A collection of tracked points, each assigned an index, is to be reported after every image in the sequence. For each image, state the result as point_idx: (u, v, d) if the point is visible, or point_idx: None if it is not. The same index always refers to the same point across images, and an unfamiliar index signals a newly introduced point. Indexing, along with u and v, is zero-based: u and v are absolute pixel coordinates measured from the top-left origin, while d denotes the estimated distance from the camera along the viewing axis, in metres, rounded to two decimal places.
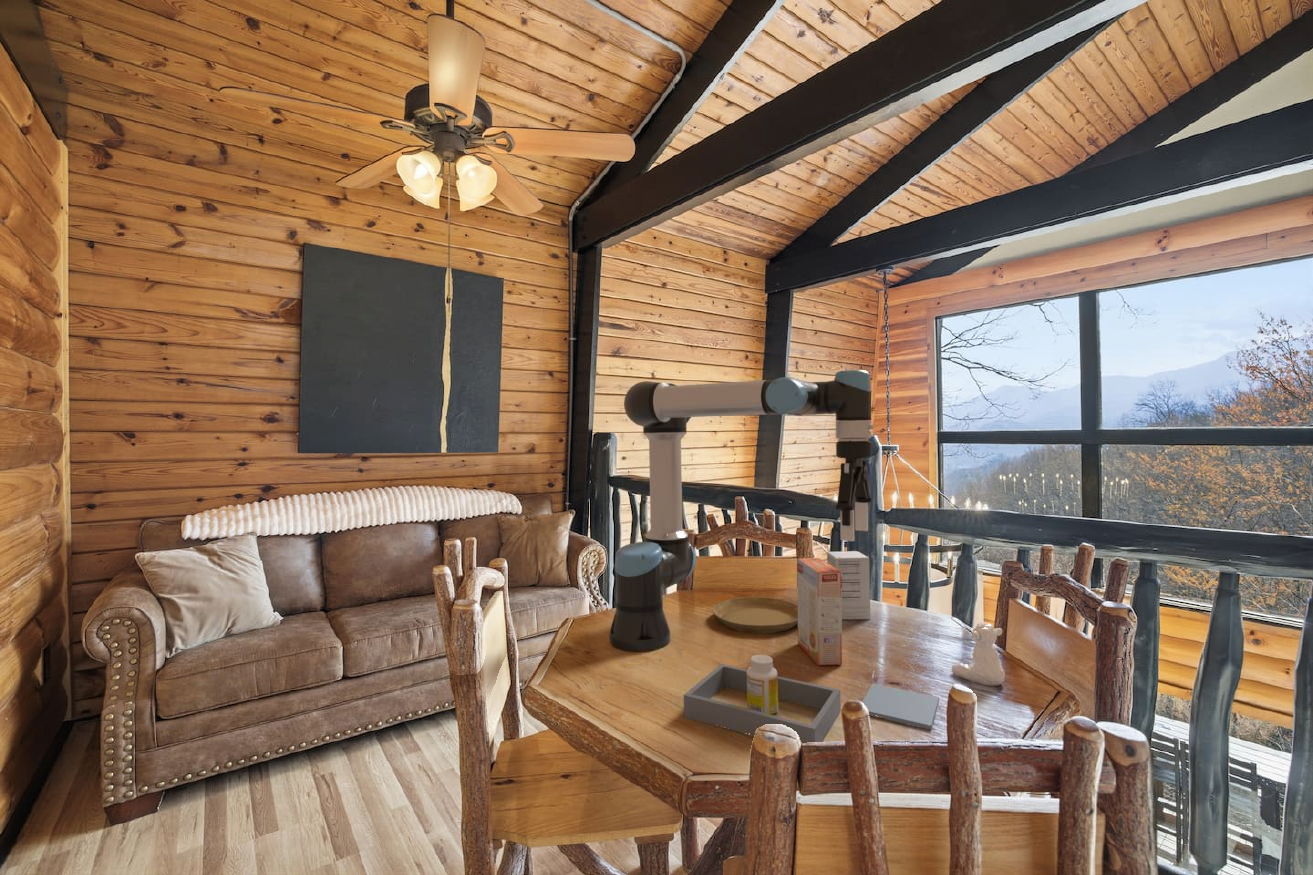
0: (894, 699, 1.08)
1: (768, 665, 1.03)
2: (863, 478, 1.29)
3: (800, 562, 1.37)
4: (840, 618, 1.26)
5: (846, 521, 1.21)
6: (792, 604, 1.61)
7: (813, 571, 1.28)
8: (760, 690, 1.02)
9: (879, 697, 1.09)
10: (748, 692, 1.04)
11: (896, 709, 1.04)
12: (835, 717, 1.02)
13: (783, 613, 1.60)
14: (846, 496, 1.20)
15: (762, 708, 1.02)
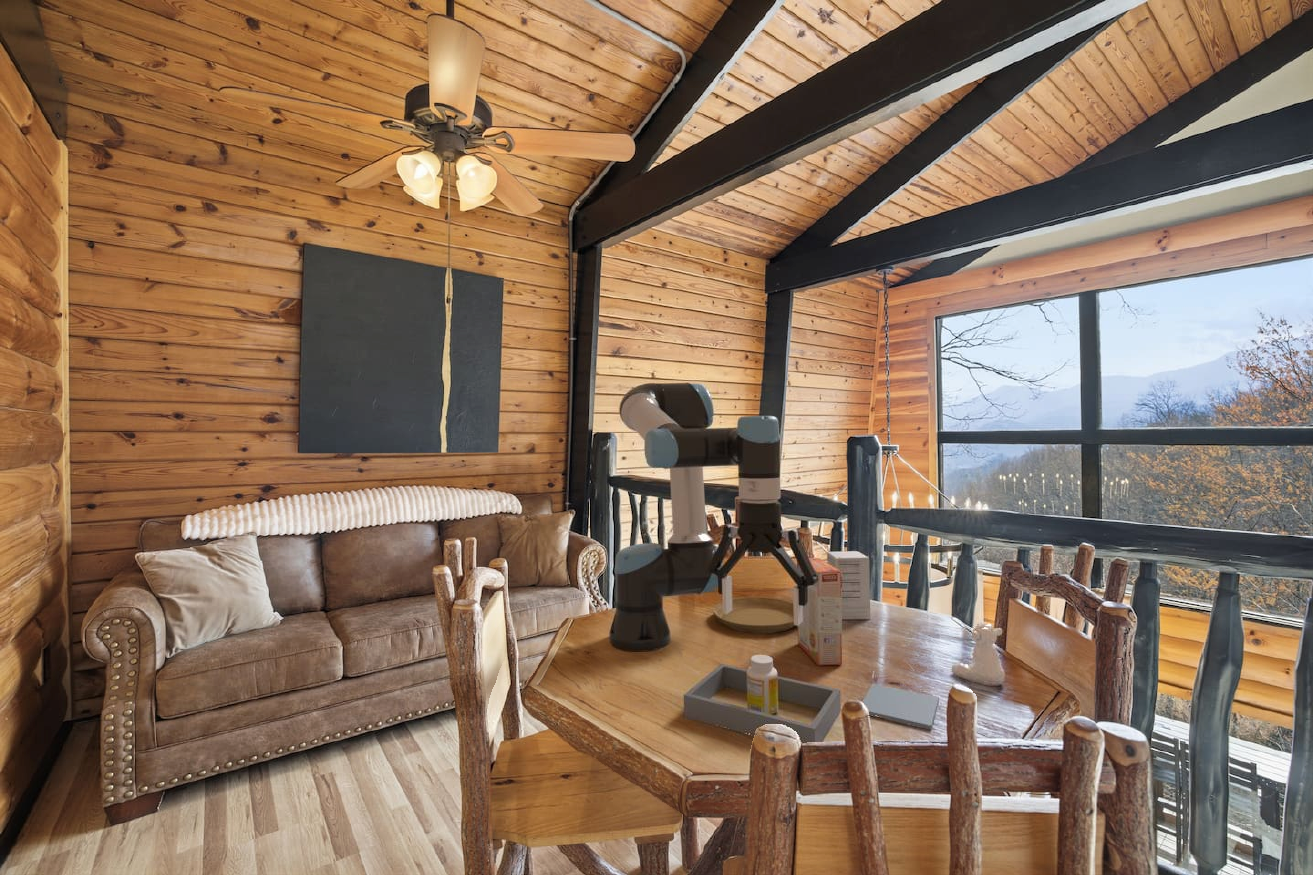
0: (894, 699, 1.08)
1: (768, 665, 1.03)
2: None
3: None
4: (840, 618, 1.26)
5: None
6: (792, 604, 1.61)
7: None
8: (760, 690, 1.02)
9: (879, 697, 1.09)
10: (748, 692, 1.04)
11: (896, 709, 1.04)
12: (835, 717, 1.02)
13: (783, 613, 1.60)
14: None
15: (762, 708, 1.02)
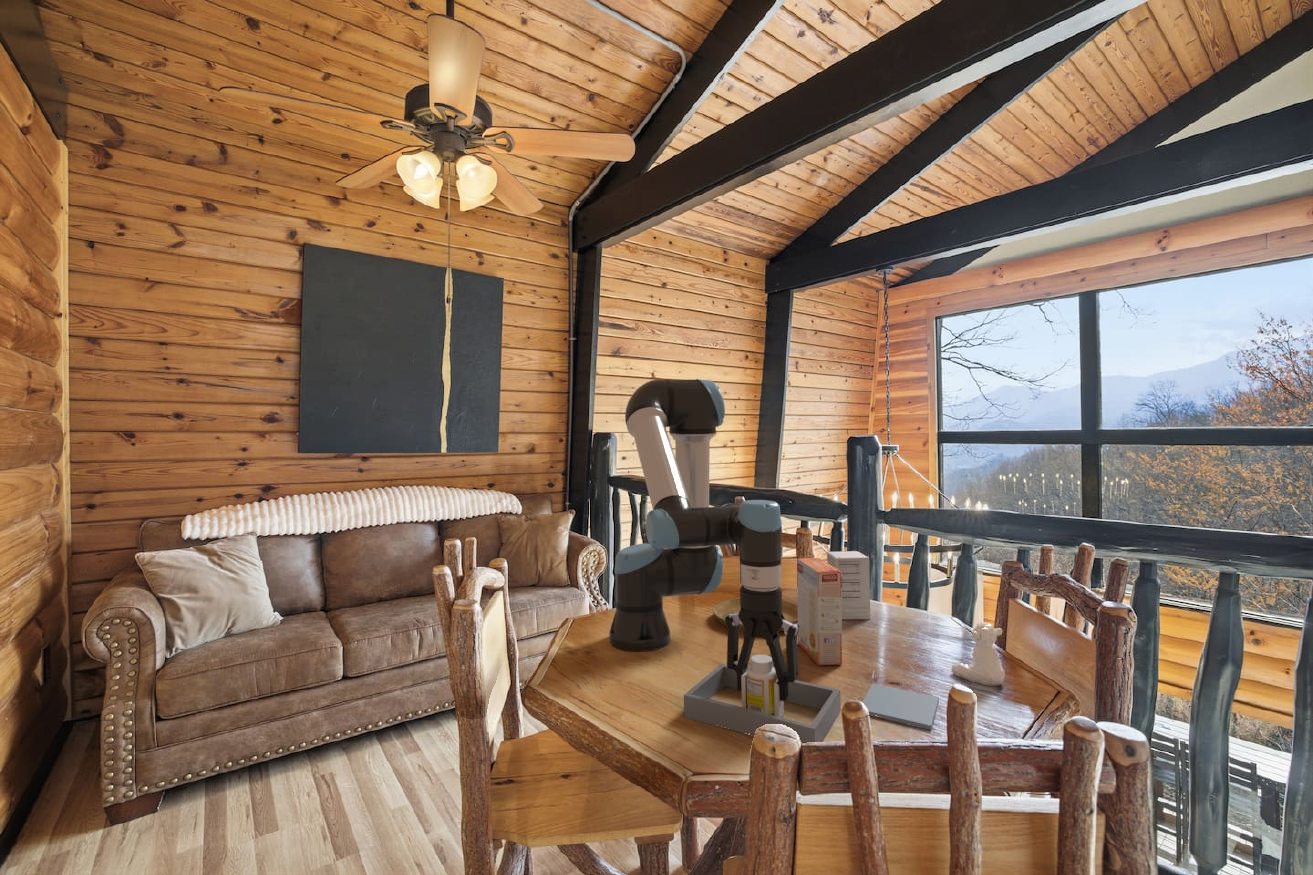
0: (894, 699, 1.08)
1: (768, 665, 1.03)
2: None
3: (800, 562, 1.37)
4: (840, 618, 1.26)
5: None
6: (792, 604, 1.61)
7: (813, 571, 1.28)
8: (760, 690, 1.02)
9: (879, 697, 1.09)
10: (748, 692, 1.04)
11: (896, 709, 1.04)
12: (835, 717, 1.02)
13: (783, 613, 1.60)
14: None
15: (762, 708, 1.02)
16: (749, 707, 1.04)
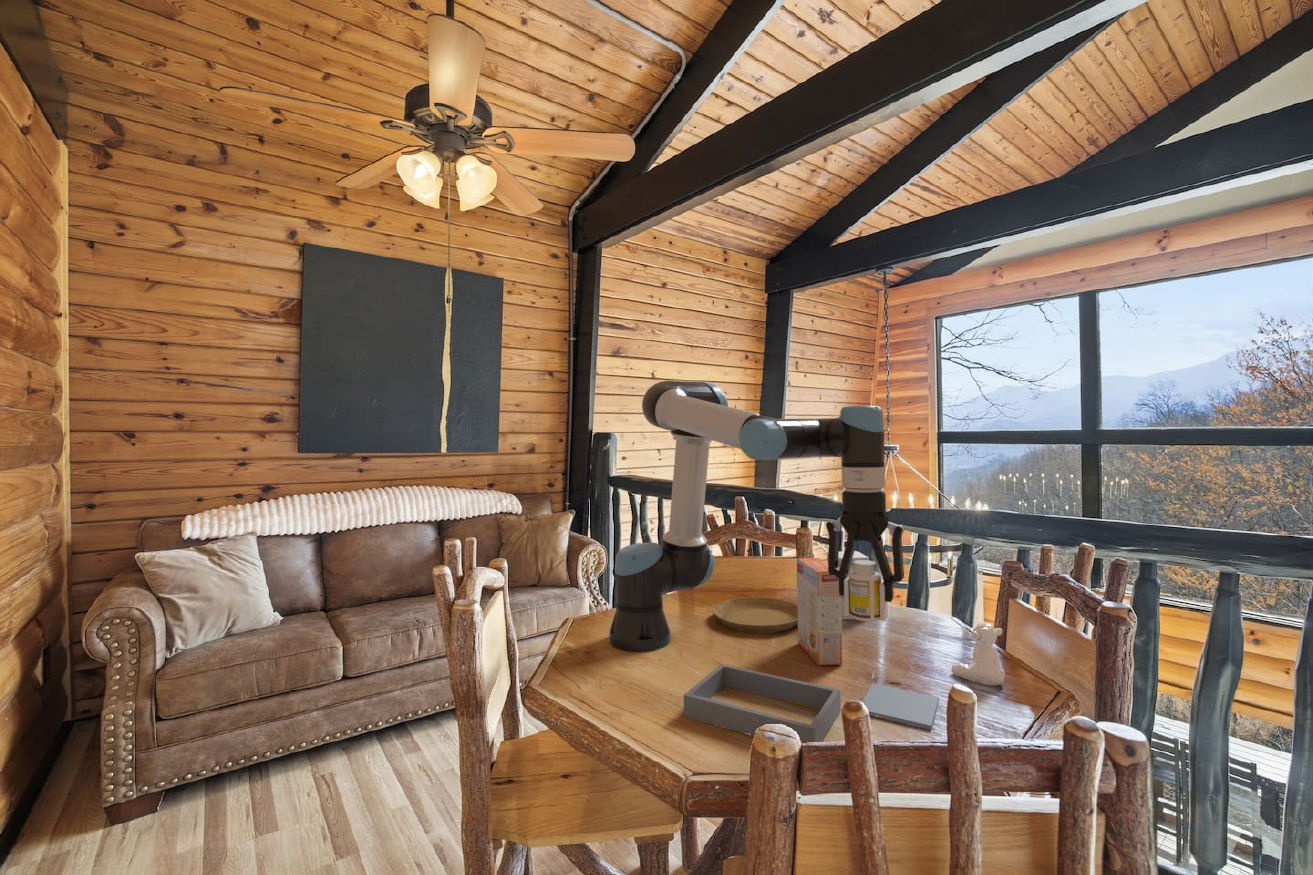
0: (894, 699, 1.08)
1: (872, 566, 1.04)
2: (870, 540, 1.04)
3: (800, 562, 1.37)
4: (840, 618, 1.26)
5: None
6: (792, 604, 1.61)
7: (813, 571, 1.28)
8: (865, 591, 1.03)
9: (879, 697, 1.09)
10: (852, 595, 1.05)
11: (896, 709, 1.04)
12: (835, 717, 1.02)
13: (783, 613, 1.60)
14: None
15: (867, 609, 1.03)
16: (853, 610, 1.05)
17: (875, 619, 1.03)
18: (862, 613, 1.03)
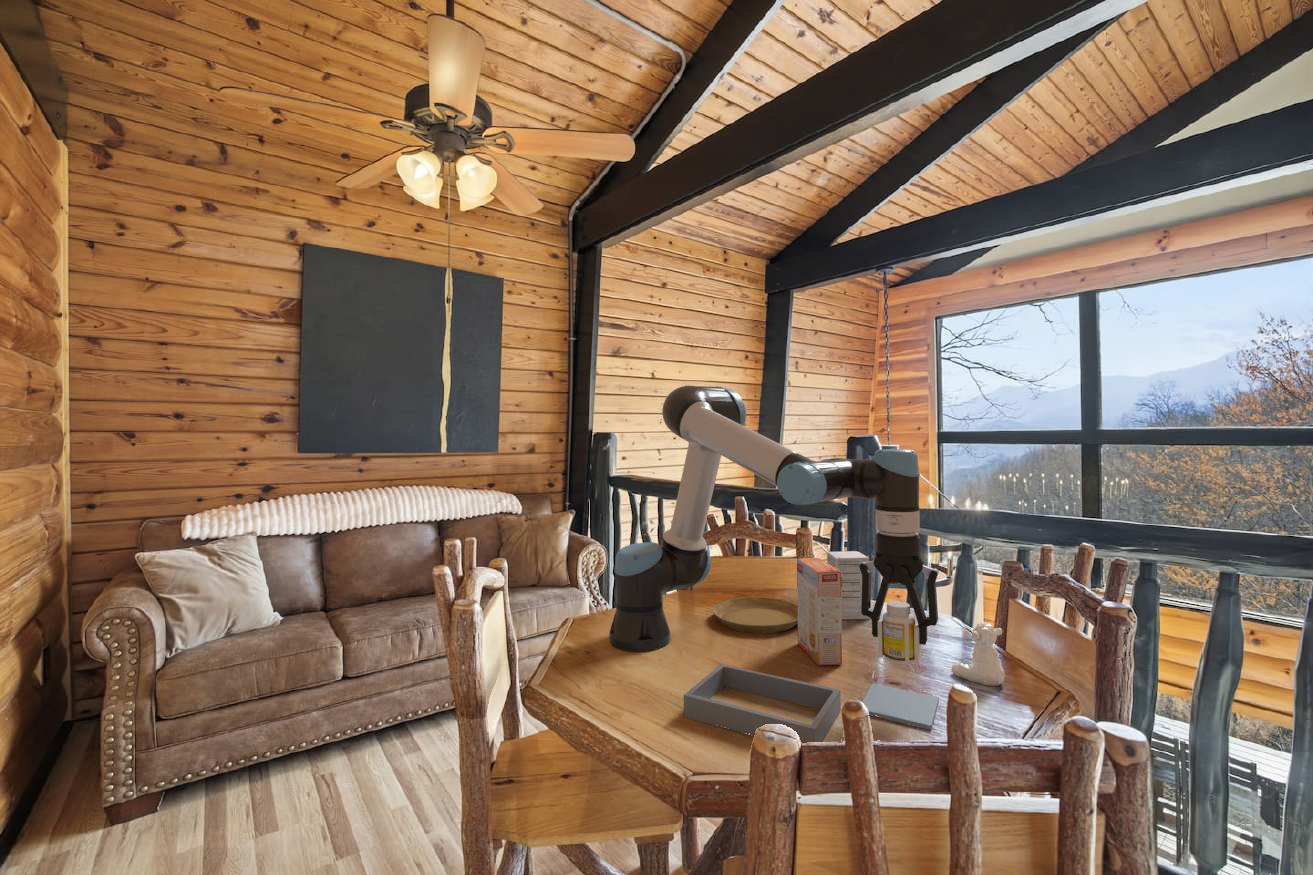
0: (894, 699, 1.08)
1: (907, 609, 1.05)
2: (905, 583, 1.04)
3: (800, 562, 1.37)
4: (840, 618, 1.26)
5: None
6: (792, 604, 1.61)
7: (813, 571, 1.28)
8: (900, 634, 1.04)
9: (879, 697, 1.09)
10: (886, 637, 1.06)
11: (896, 709, 1.04)
12: (835, 717, 1.02)
13: (783, 613, 1.60)
14: None
15: (902, 652, 1.04)
16: (887, 652, 1.06)
17: (910, 661, 1.04)
18: (897, 656, 1.04)
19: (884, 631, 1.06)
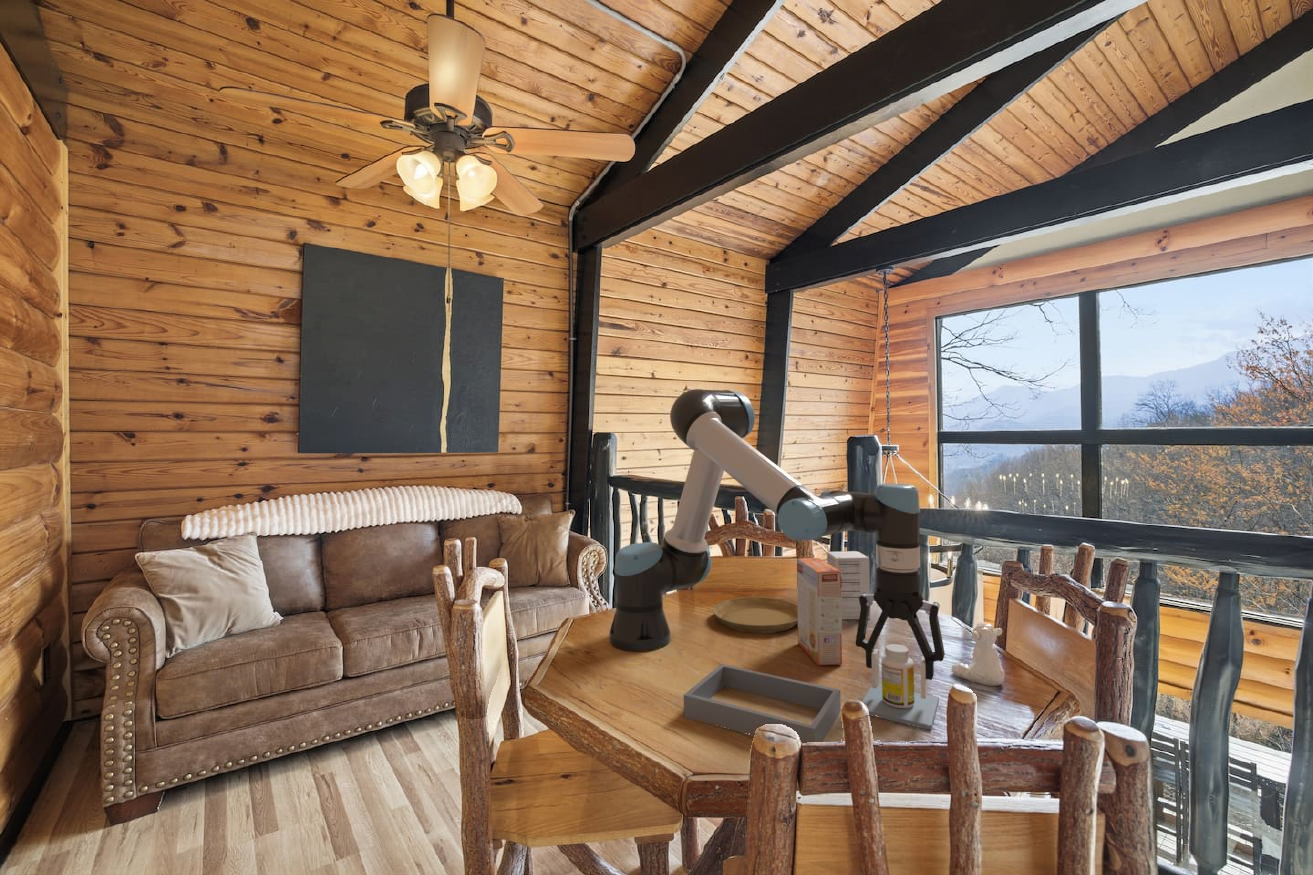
0: None
1: (905, 654, 1.05)
2: (906, 619, 1.04)
3: (800, 562, 1.37)
4: (840, 618, 1.26)
5: None
6: (792, 604, 1.61)
7: (813, 571, 1.28)
8: (899, 679, 1.04)
9: (879, 697, 1.09)
10: (885, 681, 1.06)
11: (896, 709, 1.04)
12: (835, 717, 1.02)
13: (783, 613, 1.60)
14: None
15: (901, 696, 1.04)
16: (886, 696, 1.06)
17: (908, 706, 1.04)
18: (895, 700, 1.04)
19: (883, 675, 1.07)
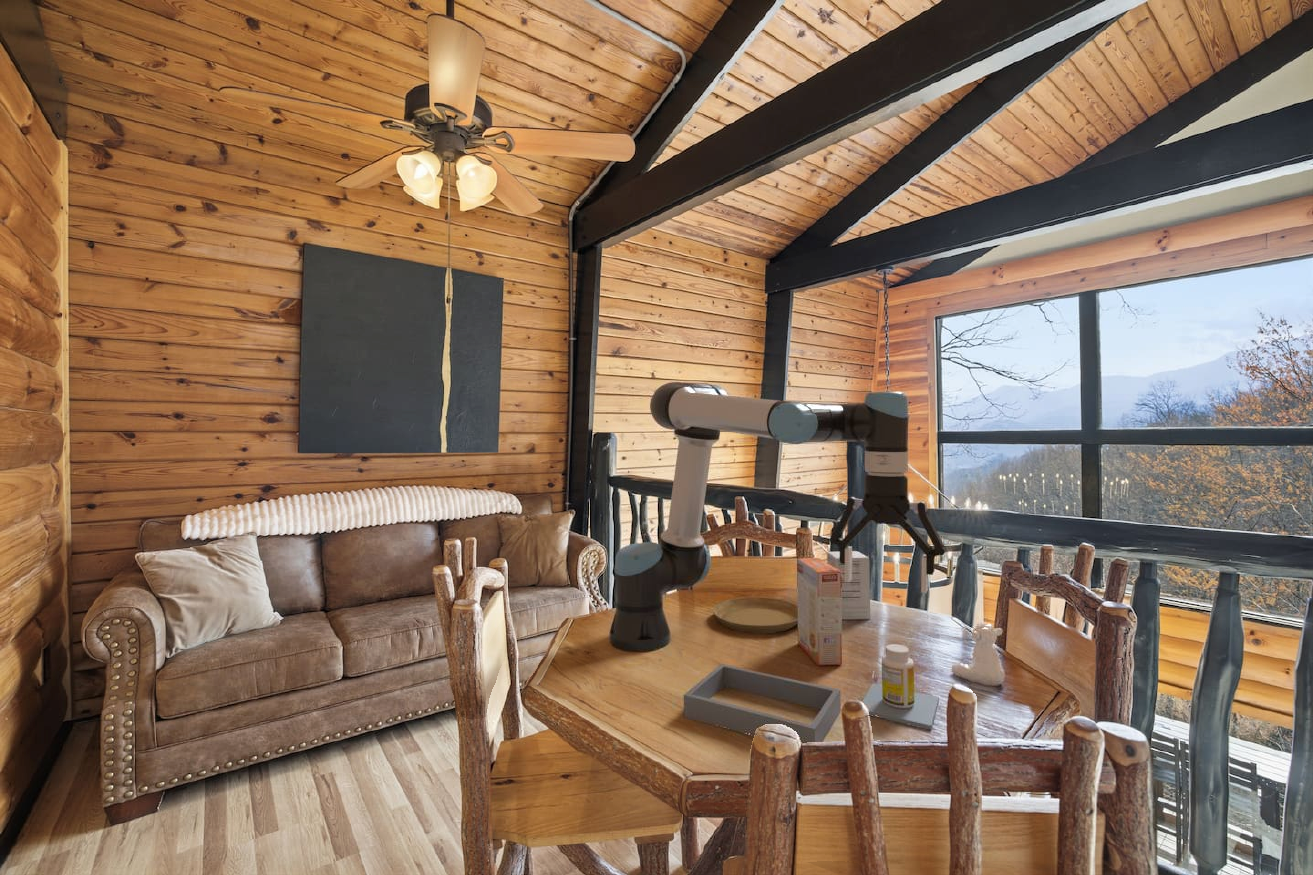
0: None
1: (906, 654, 1.05)
2: (898, 522, 1.06)
3: (800, 562, 1.37)
4: (840, 618, 1.26)
5: None
6: (792, 604, 1.61)
7: (813, 571, 1.28)
8: (899, 679, 1.04)
9: (879, 697, 1.09)
10: (885, 681, 1.06)
11: (896, 709, 1.04)
12: (835, 717, 1.02)
13: (783, 613, 1.60)
14: (835, 530, 1.13)
15: (901, 697, 1.04)
16: (886, 696, 1.06)
17: (908, 706, 1.04)
18: (895, 700, 1.04)
19: (883, 675, 1.07)
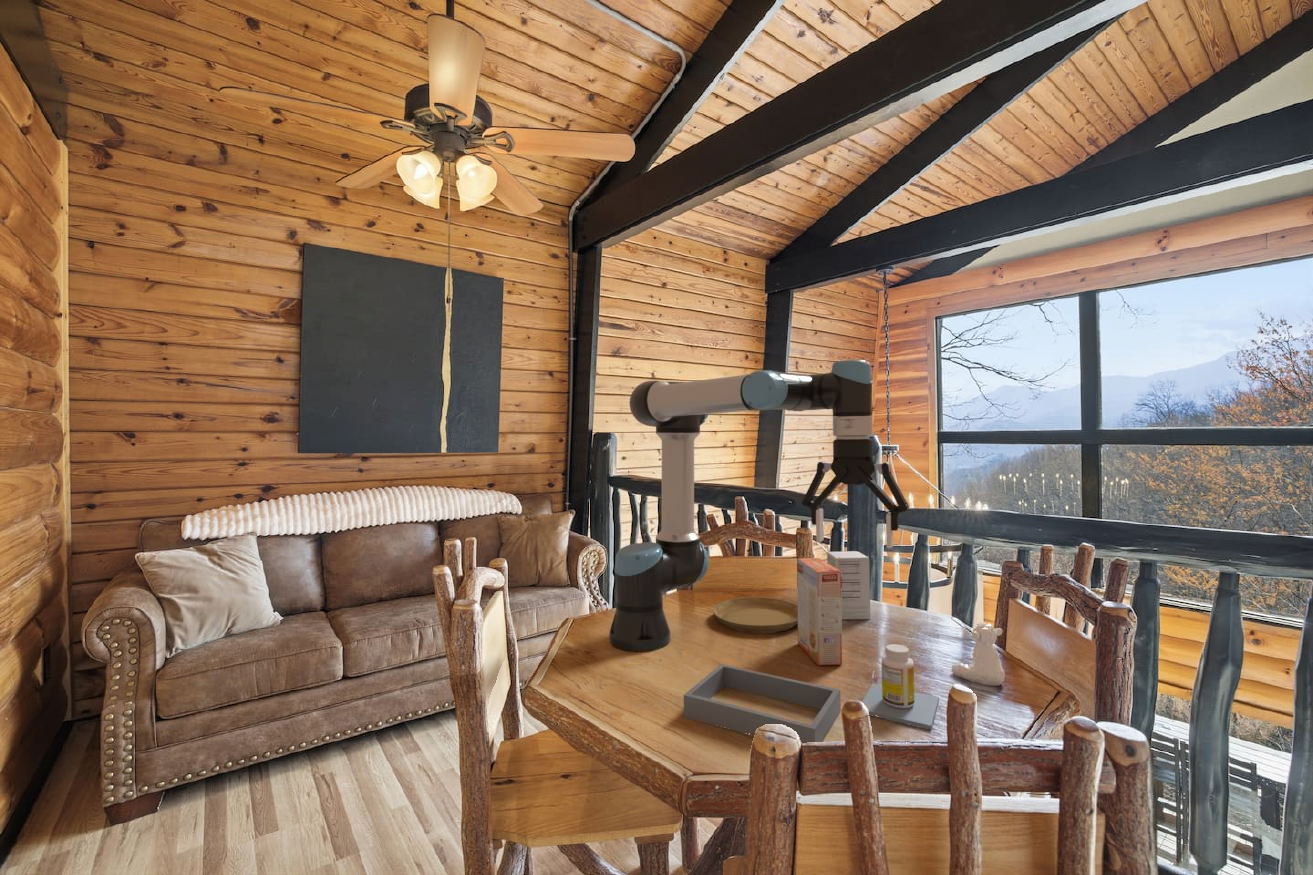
0: None
1: (906, 654, 1.05)
2: (864, 482, 1.13)
3: (800, 562, 1.37)
4: (840, 618, 1.26)
5: None
6: (792, 604, 1.61)
7: (813, 571, 1.28)
8: (899, 679, 1.04)
9: (879, 697, 1.09)
10: (885, 681, 1.06)
11: (896, 709, 1.04)
12: (835, 717, 1.02)
13: (783, 613, 1.60)
14: None
15: (901, 696, 1.04)
16: (886, 696, 1.06)
17: (908, 706, 1.04)
18: (895, 700, 1.04)
19: (883, 675, 1.07)
